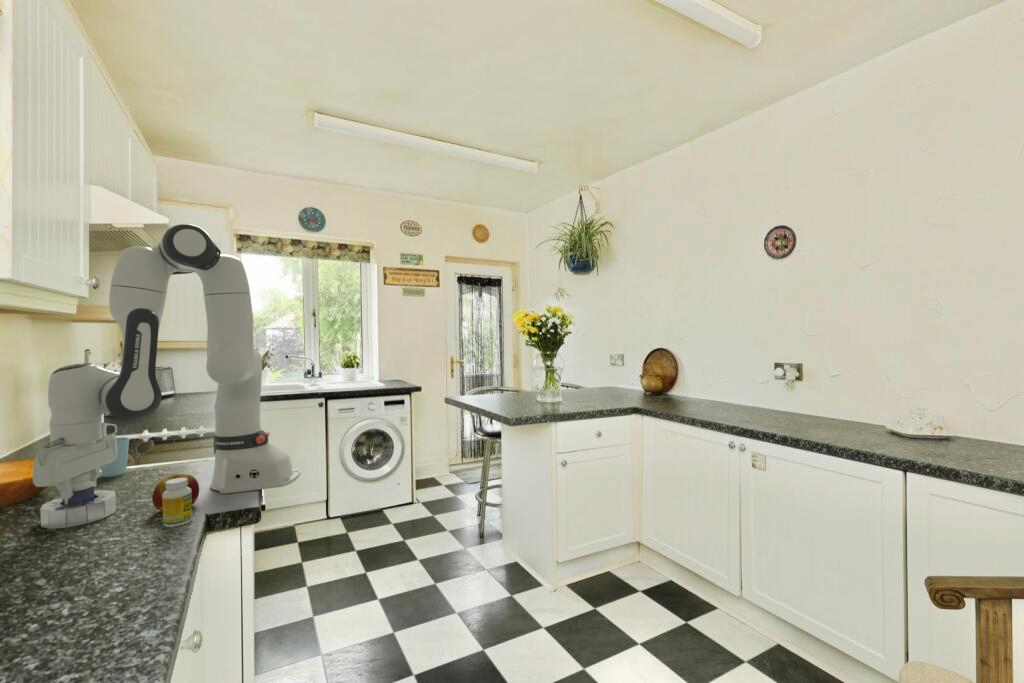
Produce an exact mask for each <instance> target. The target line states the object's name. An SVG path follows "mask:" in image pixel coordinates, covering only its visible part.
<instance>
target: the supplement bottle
mask: <svg viewBox="0 0 1024 683" xmlns="http://www.w3.org/2000/svg"><path fill="white" fill-rule="evenodd" d="M187 484H188V479H187V478H176V479H172V480H169V481H167V482H166V483H165V488H166V489H167V490H166V491H165V492H164V493H163V495H162V504H163V511H162V519H163V520H162V521H163V522H162V525H163V526H164V527H165V528H176V527H175V526H177V527H181V526H180V525H182V526H185V525H187V524H188V523H191V522H192V520H193V517H194V516H193V504H192V490H191V488H189V487H186V486H187ZM184 524H185V525H184Z"/></svg>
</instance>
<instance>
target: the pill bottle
mask: <svg viewBox="0 0 1024 683" xmlns="http://www.w3.org/2000/svg"><path fill="white" fill-rule="evenodd" d="M89 478H90V472H86V473H83V474H81V475H78V476H76V477H73V478H71V483H70V484H69V486H70V488H71V489H74V491H75V492H74V494H75V495H74V496H73V497H71V498H69V499H63V505H65V504H70V505H75V504H80V503H85V502H88V501H92V500H94V491H95V487H94V482H93V481H90V480H89Z"/></svg>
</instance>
